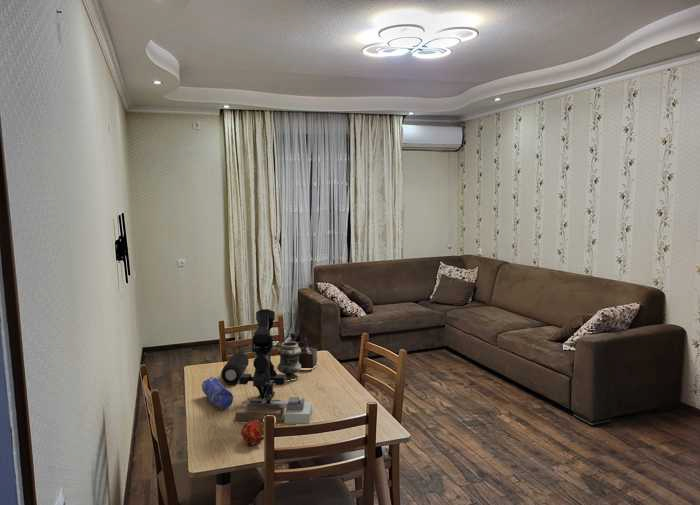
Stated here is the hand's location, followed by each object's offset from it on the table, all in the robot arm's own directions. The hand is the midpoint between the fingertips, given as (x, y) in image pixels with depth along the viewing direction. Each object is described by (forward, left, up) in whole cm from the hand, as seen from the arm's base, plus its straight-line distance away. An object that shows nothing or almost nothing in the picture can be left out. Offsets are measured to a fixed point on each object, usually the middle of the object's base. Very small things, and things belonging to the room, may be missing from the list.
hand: (263, 399), depth 212 cm
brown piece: (-66, +8, -8) cm, 67 cm away
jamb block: (0, +15, -8) cm, 17 cm away
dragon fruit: (+23, +1, -8) cm, 24 cm away
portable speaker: (-49, -24, -8) cm, 55 cm away
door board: (0, -1, -8) cm, 8 cm away
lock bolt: (0, +5, -3) cm, 6 cm away
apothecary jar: (-48, +4, -8) cm, 49 cm away
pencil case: (-15, -24, -8) cm, 29 cm away
